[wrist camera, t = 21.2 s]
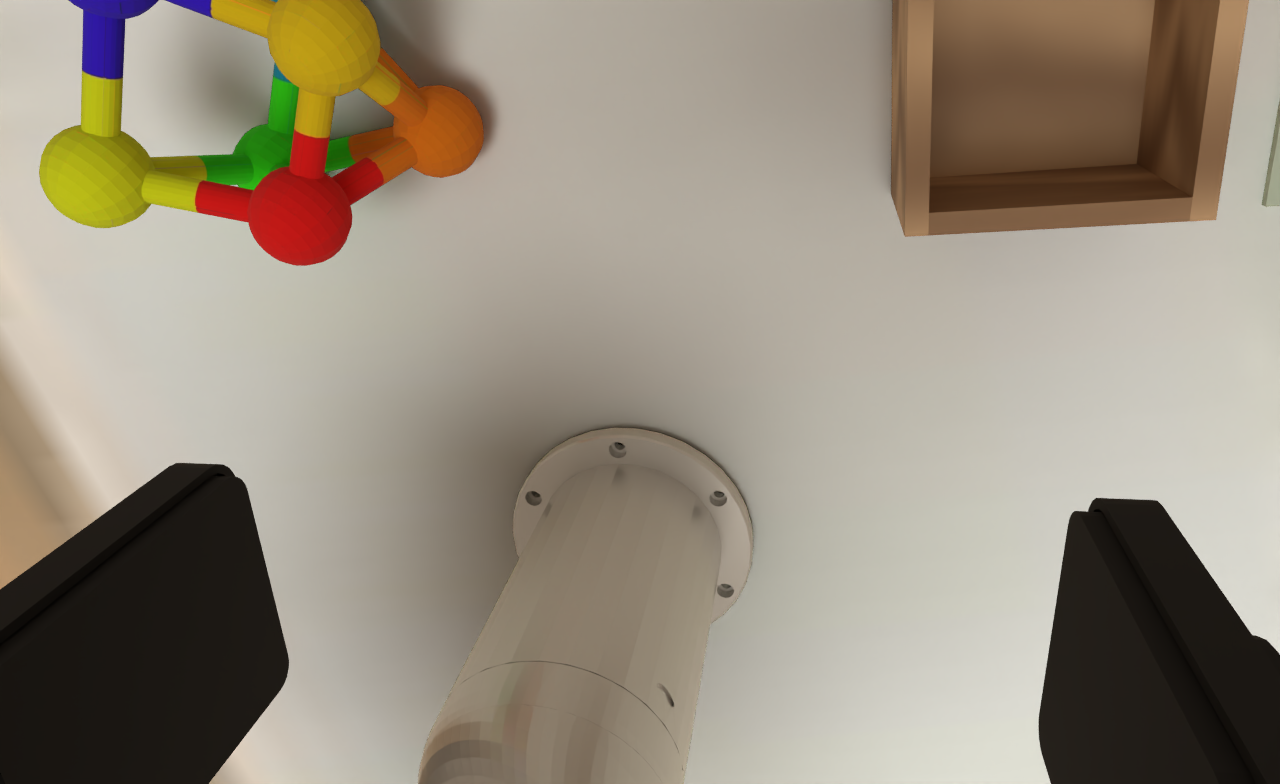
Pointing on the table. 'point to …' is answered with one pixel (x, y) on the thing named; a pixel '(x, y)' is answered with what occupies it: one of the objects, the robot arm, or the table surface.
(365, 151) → the molecular model
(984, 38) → the brown wooden open box
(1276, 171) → the lid
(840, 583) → the table surface
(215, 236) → the table surface
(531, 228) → the table surface
